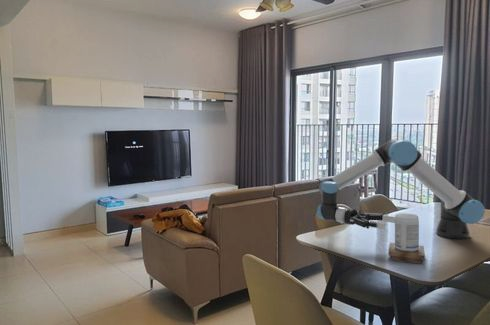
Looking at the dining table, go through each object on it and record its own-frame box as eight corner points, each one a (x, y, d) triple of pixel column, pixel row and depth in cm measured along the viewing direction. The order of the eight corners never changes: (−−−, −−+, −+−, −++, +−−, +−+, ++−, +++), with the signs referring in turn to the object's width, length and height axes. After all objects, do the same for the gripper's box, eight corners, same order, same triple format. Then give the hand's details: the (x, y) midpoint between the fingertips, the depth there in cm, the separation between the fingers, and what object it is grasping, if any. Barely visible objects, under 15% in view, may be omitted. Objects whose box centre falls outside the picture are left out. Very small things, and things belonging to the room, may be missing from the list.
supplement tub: (419, 247, 162) (420, 214, 161) (417, 253, 154) (417, 219, 153) (396, 244, 167) (397, 212, 166) (392, 250, 159) (393, 216, 158)
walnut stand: (423, 254, 165) (423, 245, 164) (424, 265, 152) (424, 255, 151) (389, 250, 170) (389, 242, 170) (388, 261, 157) (388, 251, 157)
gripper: (359, 218, 188) (401, 225, 174) (333, 228, 170) (378, 237, 156) (359, 204, 187) (401, 210, 173) (334, 212, 169) (379, 220, 155)
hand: (390, 223), depth 164 cm, fingers open, 13 cm apart
